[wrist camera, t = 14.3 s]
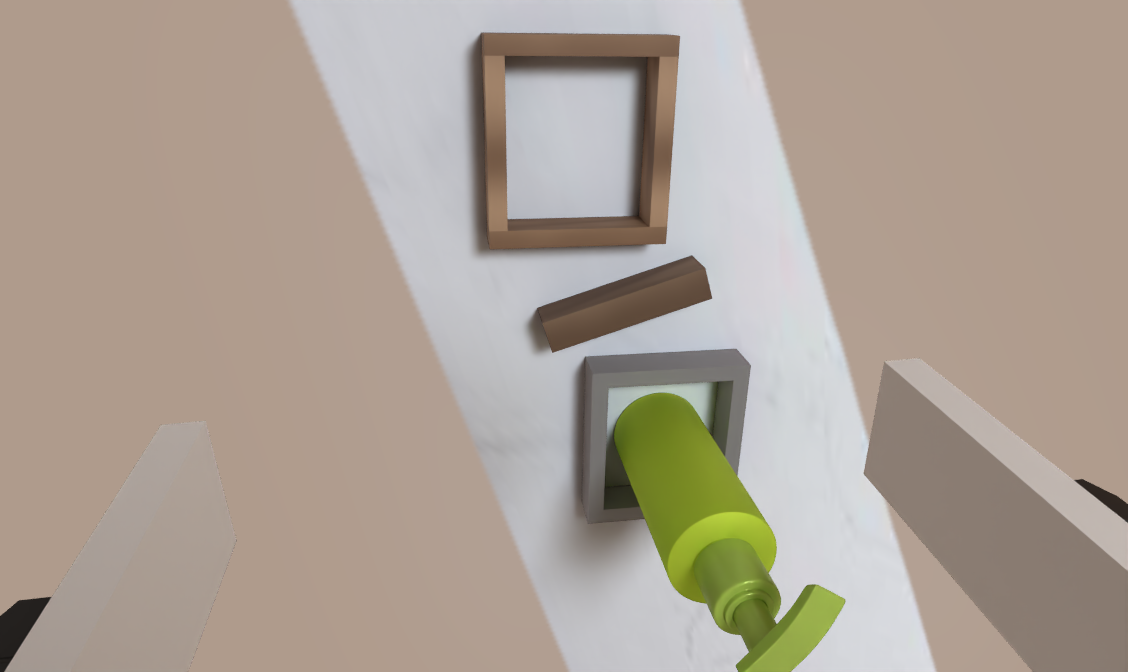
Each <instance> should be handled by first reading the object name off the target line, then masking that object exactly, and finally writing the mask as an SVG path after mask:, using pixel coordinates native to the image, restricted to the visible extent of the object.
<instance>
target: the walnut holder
mask: <svg viewBox="0 0 1128 672" xmlns="http://www.w3.org/2000/svg"><path fill="white" fill-rule="evenodd" d="M481 38H482V73H483V109H484V145H485V180H486V216H487V239H488V244H489V248H490V249H513V248H545V247H578V246H610V245H642V244H666V234H667V219H668V204H669V190H670V175H671V160H672V146H673V131H674V116H675V102H676V87H677V72H678V58H679V43H680V36H675V35H660V34H558V33H481ZM505 56H629V57H647V76H646V95H645V113H644V132H643V151H642V170H641V189H640V208H639V216H624V217H584V218H545V219H507V169H506V110H505Z"/></svg>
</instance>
